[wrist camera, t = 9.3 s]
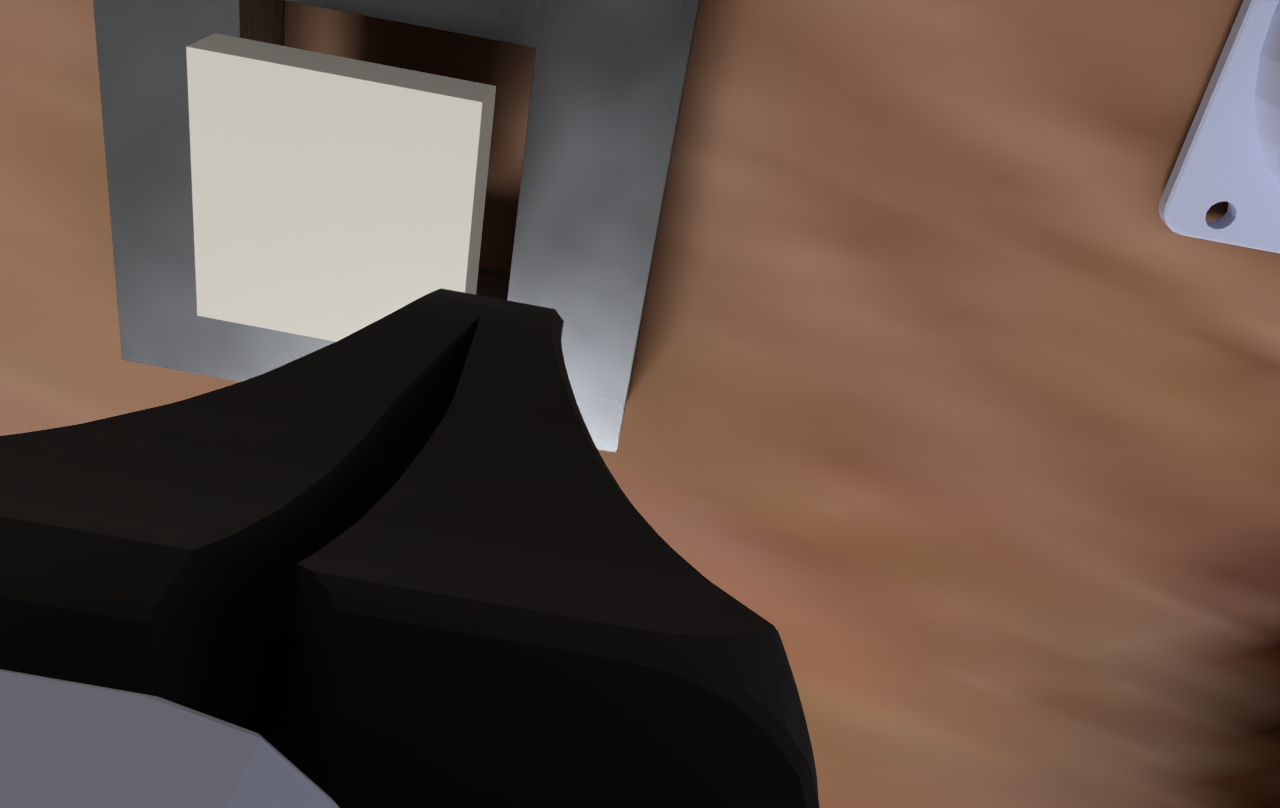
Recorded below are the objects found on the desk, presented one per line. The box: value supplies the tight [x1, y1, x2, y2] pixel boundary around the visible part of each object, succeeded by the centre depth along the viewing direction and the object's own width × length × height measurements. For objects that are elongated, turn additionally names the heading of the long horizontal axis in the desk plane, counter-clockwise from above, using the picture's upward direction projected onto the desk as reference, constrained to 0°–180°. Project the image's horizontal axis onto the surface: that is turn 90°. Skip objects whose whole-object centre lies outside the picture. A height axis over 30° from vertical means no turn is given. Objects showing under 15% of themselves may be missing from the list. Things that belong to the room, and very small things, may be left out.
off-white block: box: [186, 33, 496, 342], centre depth 19 cm, size 4×4×3 cm
